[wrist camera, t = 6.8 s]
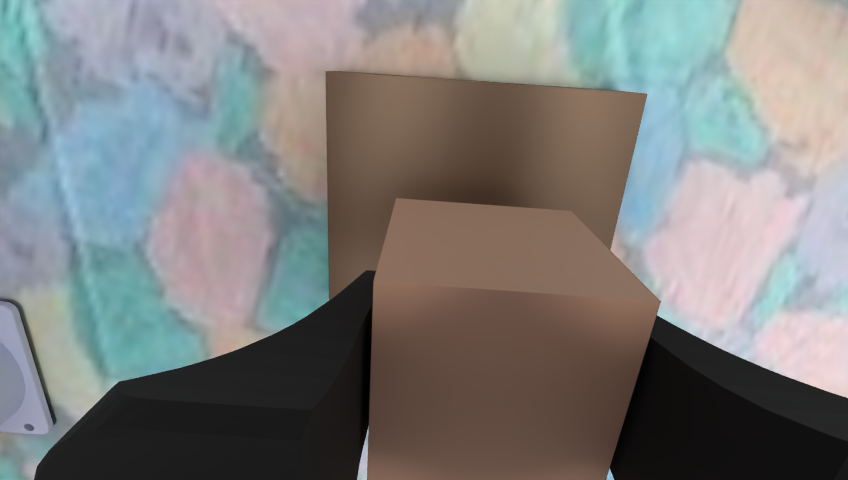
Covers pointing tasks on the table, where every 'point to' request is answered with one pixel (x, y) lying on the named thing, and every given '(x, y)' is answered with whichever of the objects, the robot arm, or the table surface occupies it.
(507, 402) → the terracotta cube
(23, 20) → the table surface
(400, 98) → the walnut block
